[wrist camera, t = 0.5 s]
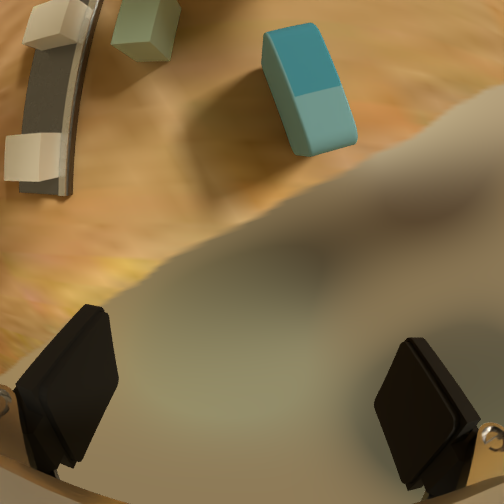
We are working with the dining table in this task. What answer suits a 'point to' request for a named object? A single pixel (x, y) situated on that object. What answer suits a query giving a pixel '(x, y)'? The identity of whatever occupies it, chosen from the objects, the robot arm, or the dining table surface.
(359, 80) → the dining table surface
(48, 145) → the mounted modules
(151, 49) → the module block
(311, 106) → the data package
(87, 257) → the dining table surface
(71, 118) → the rail plate
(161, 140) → the dining table surface
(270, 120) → the dining table surface
